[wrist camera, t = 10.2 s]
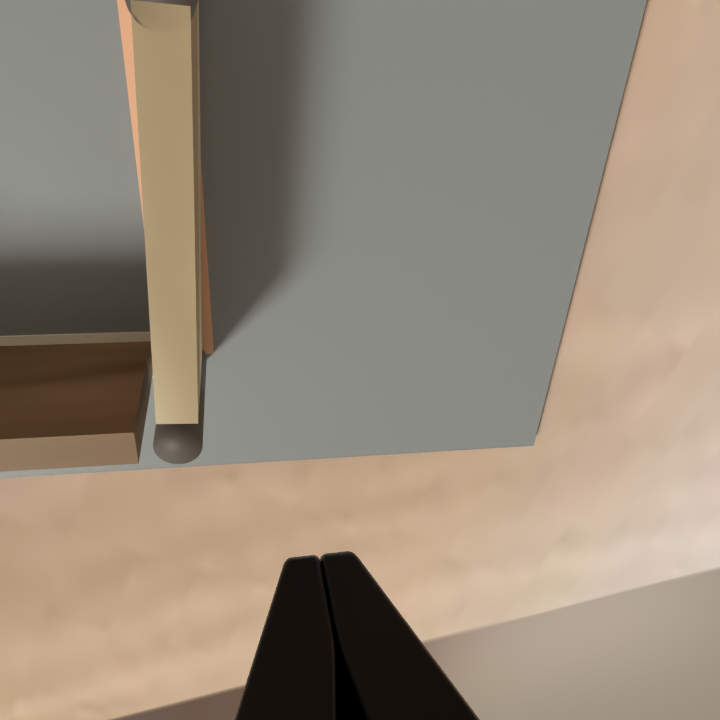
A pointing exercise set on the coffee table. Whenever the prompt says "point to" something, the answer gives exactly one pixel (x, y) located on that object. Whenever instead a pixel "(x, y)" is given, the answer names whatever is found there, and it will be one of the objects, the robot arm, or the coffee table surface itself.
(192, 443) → the fence gate
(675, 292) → the coffee table surface
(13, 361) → the fence base
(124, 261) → the card
